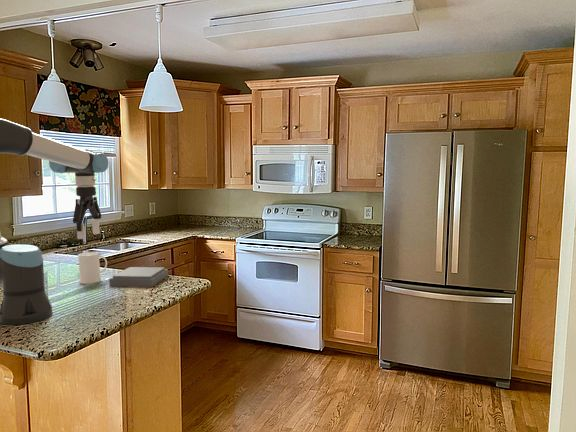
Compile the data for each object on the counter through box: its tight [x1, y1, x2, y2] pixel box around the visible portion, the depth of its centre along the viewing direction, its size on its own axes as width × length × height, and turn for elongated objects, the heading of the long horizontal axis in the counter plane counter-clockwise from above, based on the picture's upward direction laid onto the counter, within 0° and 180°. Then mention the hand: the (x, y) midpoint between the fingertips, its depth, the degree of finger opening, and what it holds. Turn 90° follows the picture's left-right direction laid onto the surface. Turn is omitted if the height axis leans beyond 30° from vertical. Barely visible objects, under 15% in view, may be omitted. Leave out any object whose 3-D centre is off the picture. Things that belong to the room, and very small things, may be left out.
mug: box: [77, 251, 108, 285], centre depth 191 cm, size 12×8×12 cm
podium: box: [109, 266, 169, 288], centre depth 190 cm, size 18×18×4 cm
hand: (88, 236), depth 190 cm, fingers open, 13 cm apart
